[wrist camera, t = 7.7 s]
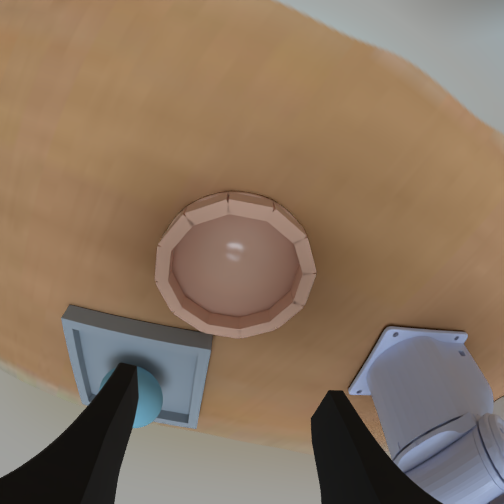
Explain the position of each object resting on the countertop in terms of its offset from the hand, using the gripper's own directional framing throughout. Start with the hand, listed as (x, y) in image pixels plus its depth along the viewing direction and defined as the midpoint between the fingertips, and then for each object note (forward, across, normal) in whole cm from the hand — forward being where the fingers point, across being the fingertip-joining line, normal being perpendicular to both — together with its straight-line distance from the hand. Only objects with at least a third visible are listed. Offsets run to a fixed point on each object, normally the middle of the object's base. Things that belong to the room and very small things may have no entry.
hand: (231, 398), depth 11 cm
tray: (+10, +6, +12) cm, 16 cm away
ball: (+9, +6, +11) cm, 16 cm away
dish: (+10, 0, 0) cm, 10 cm away
